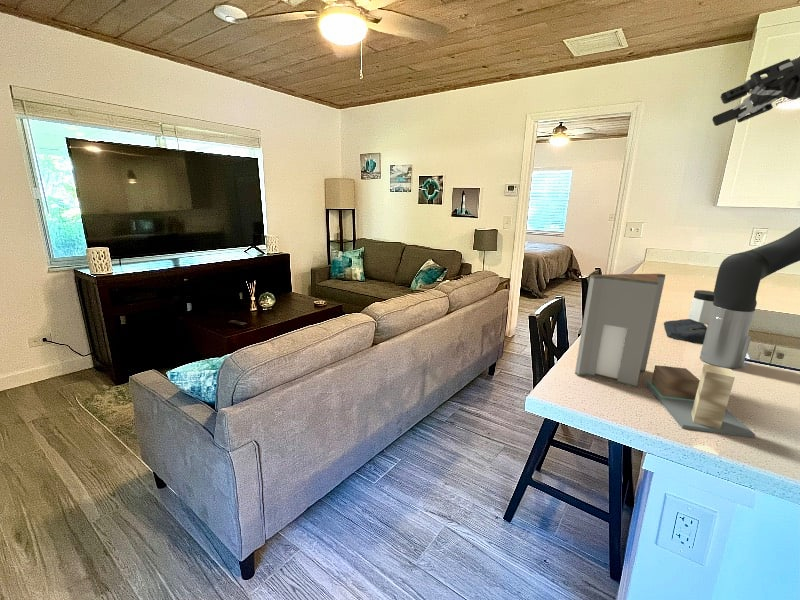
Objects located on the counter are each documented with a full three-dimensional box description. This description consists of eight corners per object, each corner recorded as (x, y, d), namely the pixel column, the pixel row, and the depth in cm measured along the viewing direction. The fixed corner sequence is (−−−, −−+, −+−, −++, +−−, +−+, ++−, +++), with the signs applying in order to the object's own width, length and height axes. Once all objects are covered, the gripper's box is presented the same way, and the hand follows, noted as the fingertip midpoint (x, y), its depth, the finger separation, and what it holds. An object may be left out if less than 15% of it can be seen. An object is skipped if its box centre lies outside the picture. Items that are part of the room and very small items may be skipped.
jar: (720, 324, 148) (727, 294, 145) (703, 325, 146) (710, 295, 143) (698, 317, 157) (704, 289, 153) (682, 318, 155) (688, 290, 152)
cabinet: (640, 369, 107) (660, 273, 99) (669, 385, 98) (693, 281, 90) (574, 373, 103) (590, 274, 96) (598, 391, 94) (617, 283, 87)
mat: (701, 390, 95) (702, 387, 95) (754, 437, 76) (755, 434, 76) (645, 383, 98) (645, 381, 98) (682, 428, 79) (683, 424, 79)
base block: (681, 386, 96) (686, 368, 94) (695, 400, 89) (700, 381, 88) (651, 382, 97) (655, 365, 96) (662, 396, 91) (667, 377, 89)
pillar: (717, 419, 81) (731, 369, 78) (720, 429, 78) (734, 377, 75) (691, 412, 84) (703, 363, 81) (693, 422, 80) (706, 371, 77)
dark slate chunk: (709, 330, 142) (712, 318, 141) (723, 349, 124) (726, 335, 123) (661, 322, 150) (663, 311, 148) (667, 340, 131) (670, 327, 130)
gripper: (846, 59, 66) (732, 106, 74) (812, 105, 78) (717, 142, 86) (827, 27, 68) (717, 76, 76) (797, 77, 80) (705, 115, 88)
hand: (717, 111), depth 81 cm, fingers open, 8 cm apart
